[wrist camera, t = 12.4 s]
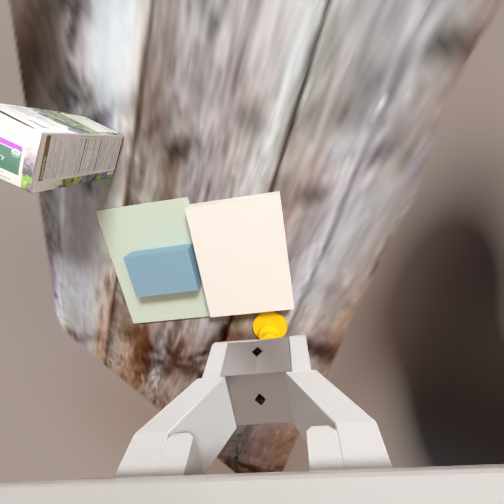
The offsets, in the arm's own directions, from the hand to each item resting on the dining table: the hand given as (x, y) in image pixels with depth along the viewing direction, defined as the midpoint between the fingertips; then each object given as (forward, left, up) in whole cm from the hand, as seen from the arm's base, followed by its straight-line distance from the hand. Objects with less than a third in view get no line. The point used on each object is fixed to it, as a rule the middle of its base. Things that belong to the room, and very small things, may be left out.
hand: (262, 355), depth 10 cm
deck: (+8, -5, -31) cm, 32 cm away
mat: (+8, -17, -31) cm, 37 cm away
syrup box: (-9, -21, -31) cm, 39 cm away
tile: (+8, -16, -31) cm, 36 cm away
